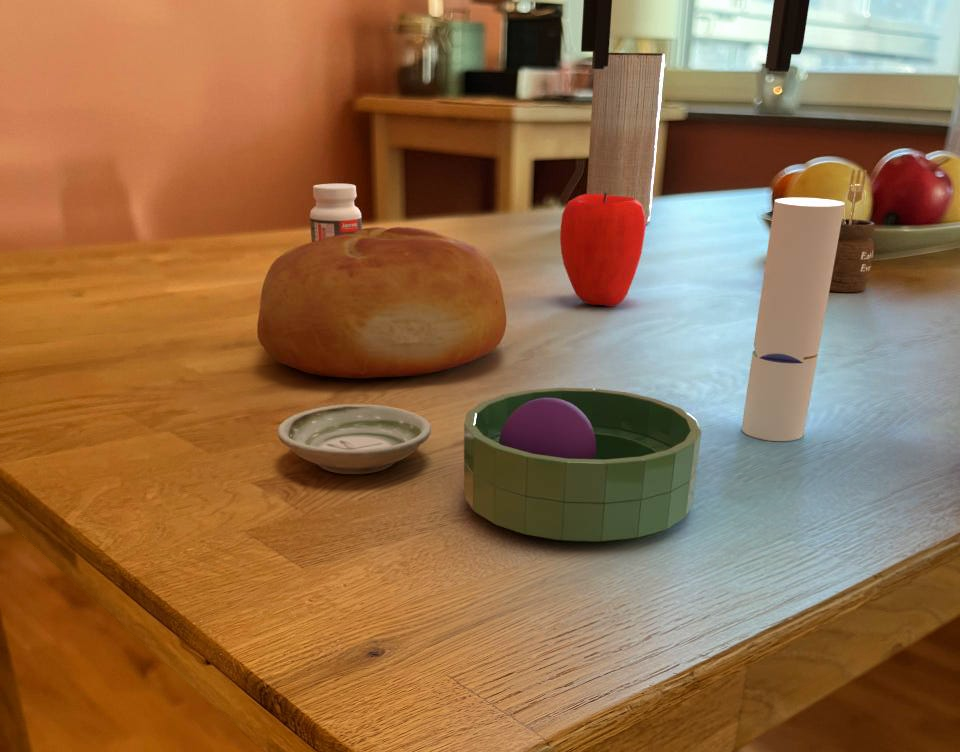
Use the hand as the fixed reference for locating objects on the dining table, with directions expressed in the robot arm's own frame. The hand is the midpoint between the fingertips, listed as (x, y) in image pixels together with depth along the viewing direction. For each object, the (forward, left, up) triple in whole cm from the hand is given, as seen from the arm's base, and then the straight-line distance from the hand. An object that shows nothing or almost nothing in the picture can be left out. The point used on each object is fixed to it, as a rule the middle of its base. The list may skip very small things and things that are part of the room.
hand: (687, 69), depth 55 cm
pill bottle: (+30, -56, -22) cm, 67 cm away
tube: (-9, -6, -22) cm, 25 cm away
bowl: (+5, +8, -22) cm, 24 cm away
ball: (+7, +8, -19) cm, 22 cm away
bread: (+21, -25, -22) cm, 40 cm away
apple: (+1, -47, -22) cm, 52 cm away
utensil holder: (-27, -58, -22) cm, 68 cm away
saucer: (+19, +2, -22) cm, 30 cm away
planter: (-5, -105, -22) cm, 108 cm away
